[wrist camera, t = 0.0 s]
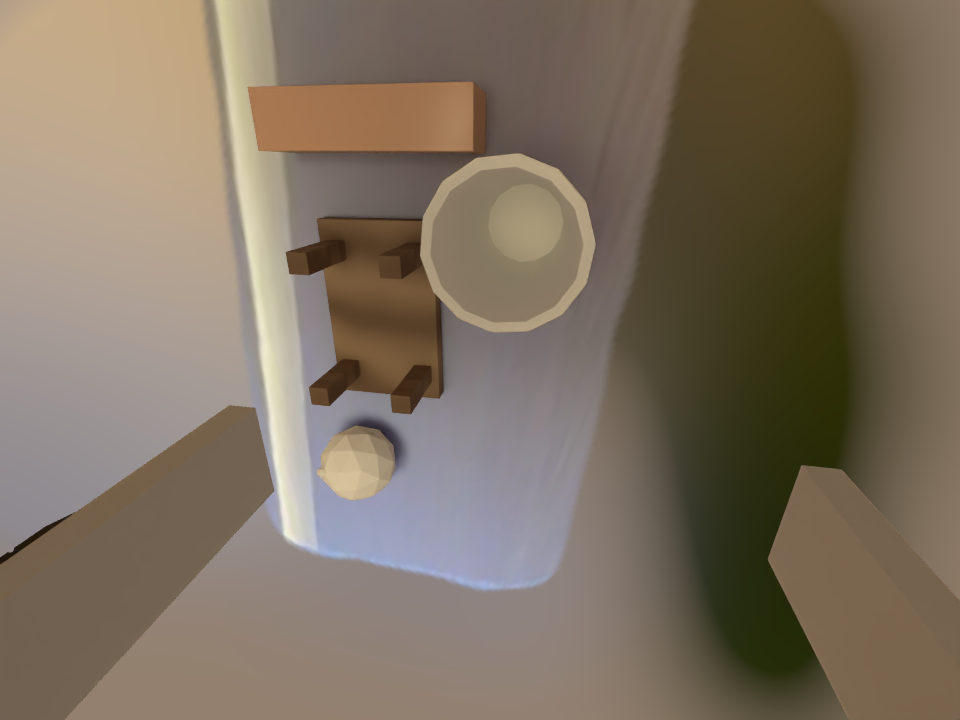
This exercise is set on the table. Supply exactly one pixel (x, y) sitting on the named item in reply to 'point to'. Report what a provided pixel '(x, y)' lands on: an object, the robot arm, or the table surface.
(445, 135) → the clay bar
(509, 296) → the foam cup
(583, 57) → the table surface
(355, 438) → the cream rounded egg shape
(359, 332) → the rack
